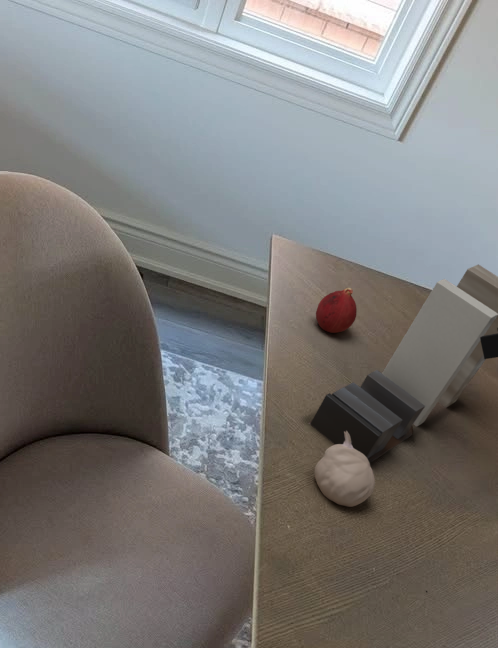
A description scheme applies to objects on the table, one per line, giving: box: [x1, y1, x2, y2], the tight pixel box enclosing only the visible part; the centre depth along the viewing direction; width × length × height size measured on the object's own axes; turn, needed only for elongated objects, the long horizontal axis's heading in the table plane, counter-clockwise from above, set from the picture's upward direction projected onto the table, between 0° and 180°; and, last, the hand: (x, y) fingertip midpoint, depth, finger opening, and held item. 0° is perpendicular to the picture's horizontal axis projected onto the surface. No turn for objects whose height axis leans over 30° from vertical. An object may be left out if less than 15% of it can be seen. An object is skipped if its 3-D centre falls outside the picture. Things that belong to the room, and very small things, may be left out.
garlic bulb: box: [313, 431, 376, 508], centre depth 87 cm, size 7×6×8 cm
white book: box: [381, 278, 498, 427], centre depth 98 cm, size 2×8×18 cm, turn 43°
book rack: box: [307, 264, 498, 464], centre depth 97 cm, size 26×9×19 cm, turn 133°
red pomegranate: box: [315, 287, 358, 334], centre depth 113 cm, size 6×6×8 cm
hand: (492, 342), depth 92 cm, fingers open, 4 cm apart
